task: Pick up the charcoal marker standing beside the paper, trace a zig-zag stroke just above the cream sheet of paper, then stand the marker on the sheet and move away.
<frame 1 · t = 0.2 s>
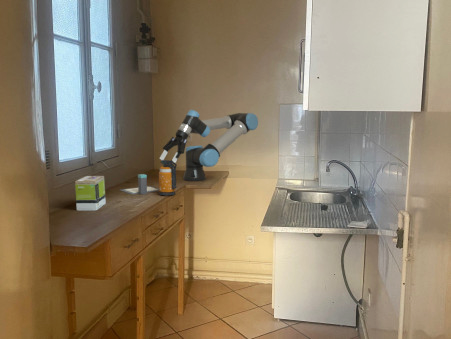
hand: (166, 161, 272), 16 cm above the worktop, tool tilted 35°, fingers open, 13 cm apart
canister: (168, 195, 248), on the worktop
paper: (141, 190, 261), on the worktop
tea box: (91, 207, 217), on the worktop
marker: (142, 193, 251), on the worktop
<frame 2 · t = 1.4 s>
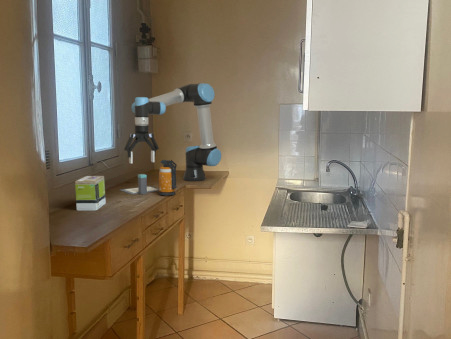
hand: (142, 162, 249), 18 cm above the worktop, tool pointing down, fingers open, 13 cm apart
nothing on the worktop moved.
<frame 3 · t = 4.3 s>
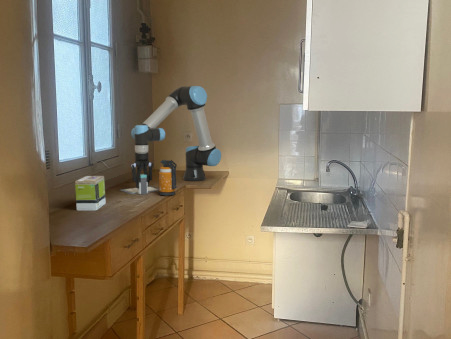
hand: (142, 193, 251), 0 cm above the worktop, tool pointing down, fingers closed on marker, 4 cm apart
marker: (142, 193, 251), on the worktop, touching gripper
everything else where it was.
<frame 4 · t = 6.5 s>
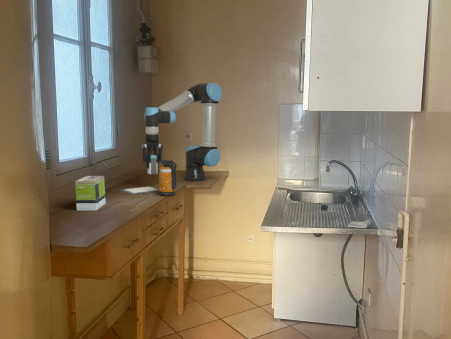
hand: (152, 173, 260), 10 cm above the worktop, tool pointing down, fingers closed on marker, 4 cm apart
marker: (152, 173, 260), point 10 cm above the worktop, touching gripper
everything else where it was.
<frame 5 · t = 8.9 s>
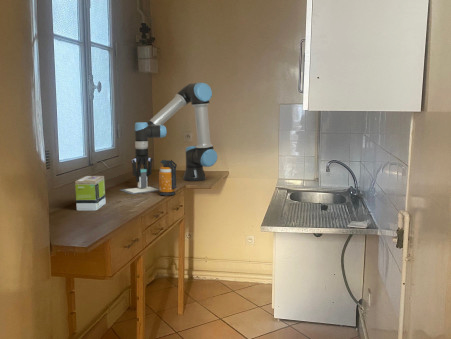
hand: (142, 186, 265), 1 cm above the worktop, tool pointing down, fingers closed on marker, 4 cm apart
marker: (142, 187, 265), point 1 cm above the worktop, touching gripper
everything else where it was.
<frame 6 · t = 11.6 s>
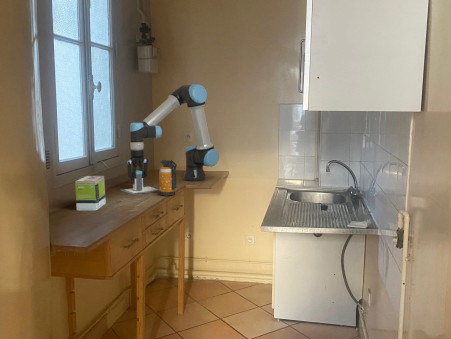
hand: (138, 189, 258), 1 cm above the worktop, tool pointing down, fingers closed on marker, 4 cm apart
marker: (138, 189, 258), point 1 cm above the worktop, touching gripper
everything else where it was.
when the fingers open (1 cm above the worktop, at t = 13.5 s): marker stays where it is, resting on paper.
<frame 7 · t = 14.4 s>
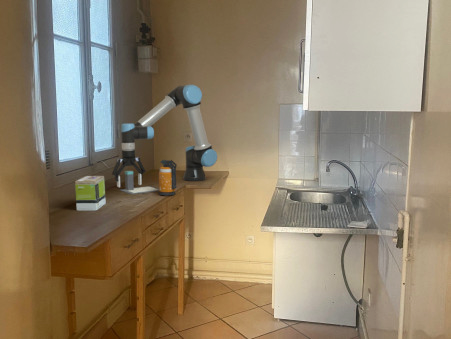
hand: (129, 185, 260), 3 cm above the worktop, tool pointing down, fingers open, 13 cm apart
marker: (129, 189, 260), point 1 cm above the worktop, touching paper
everything else where it was.
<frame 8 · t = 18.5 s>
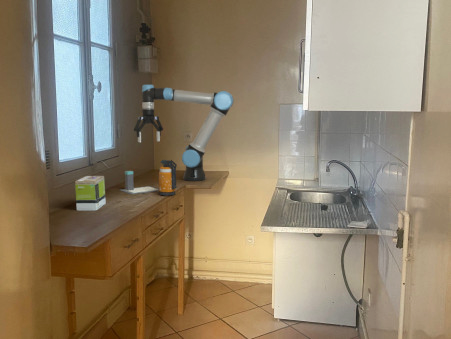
hand: (149, 141, 287), 27 cm above the worktop, tool pointing down, fingers open, 13 cm apart
nothing on the worktop moved.
at the end: marker inside the target area on the paper (6.7 cm from its centre), point 0.5 cm above the paper's base; marker point 0.5 cm above the worktop; the gripper is holding nothing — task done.
